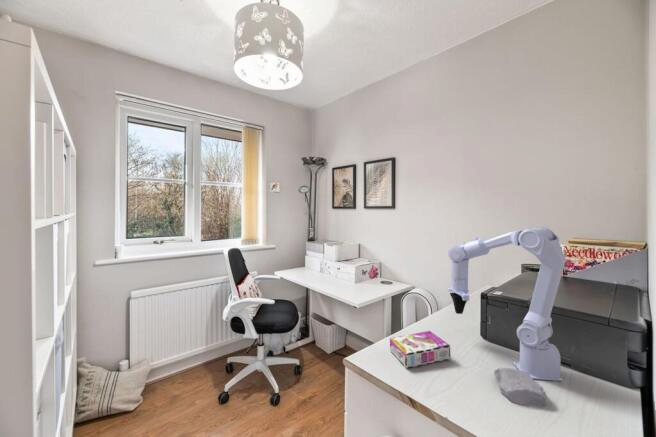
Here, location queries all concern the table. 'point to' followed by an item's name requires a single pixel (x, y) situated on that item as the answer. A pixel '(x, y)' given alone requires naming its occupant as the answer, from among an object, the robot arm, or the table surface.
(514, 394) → the stone block
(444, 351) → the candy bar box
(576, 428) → the table surface
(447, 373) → the table surface
